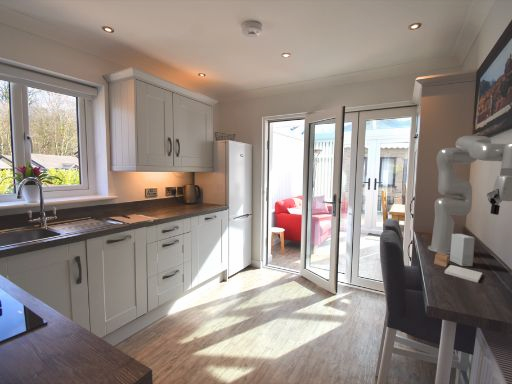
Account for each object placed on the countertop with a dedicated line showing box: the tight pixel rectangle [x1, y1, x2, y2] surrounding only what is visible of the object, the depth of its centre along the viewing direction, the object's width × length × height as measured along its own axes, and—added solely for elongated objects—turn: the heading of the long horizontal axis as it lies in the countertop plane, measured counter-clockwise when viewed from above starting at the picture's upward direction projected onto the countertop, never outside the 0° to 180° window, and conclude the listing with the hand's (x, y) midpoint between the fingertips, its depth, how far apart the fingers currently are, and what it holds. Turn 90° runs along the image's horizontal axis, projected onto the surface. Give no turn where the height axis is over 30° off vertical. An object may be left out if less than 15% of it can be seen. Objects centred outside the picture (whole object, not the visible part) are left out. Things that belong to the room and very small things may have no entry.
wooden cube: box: [433, 252, 450, 268], centre depth 133 cm, size 5×5×5 cm
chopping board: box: [444, 264, 483, 284], centre depth 121 cm, size 12×12×1 cm
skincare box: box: [449, 233, 476, 267], centre depth 135 cm, size 8×6×15 cm
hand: (506, 214), depth 109 cm, fingers open, 9 cm apart
